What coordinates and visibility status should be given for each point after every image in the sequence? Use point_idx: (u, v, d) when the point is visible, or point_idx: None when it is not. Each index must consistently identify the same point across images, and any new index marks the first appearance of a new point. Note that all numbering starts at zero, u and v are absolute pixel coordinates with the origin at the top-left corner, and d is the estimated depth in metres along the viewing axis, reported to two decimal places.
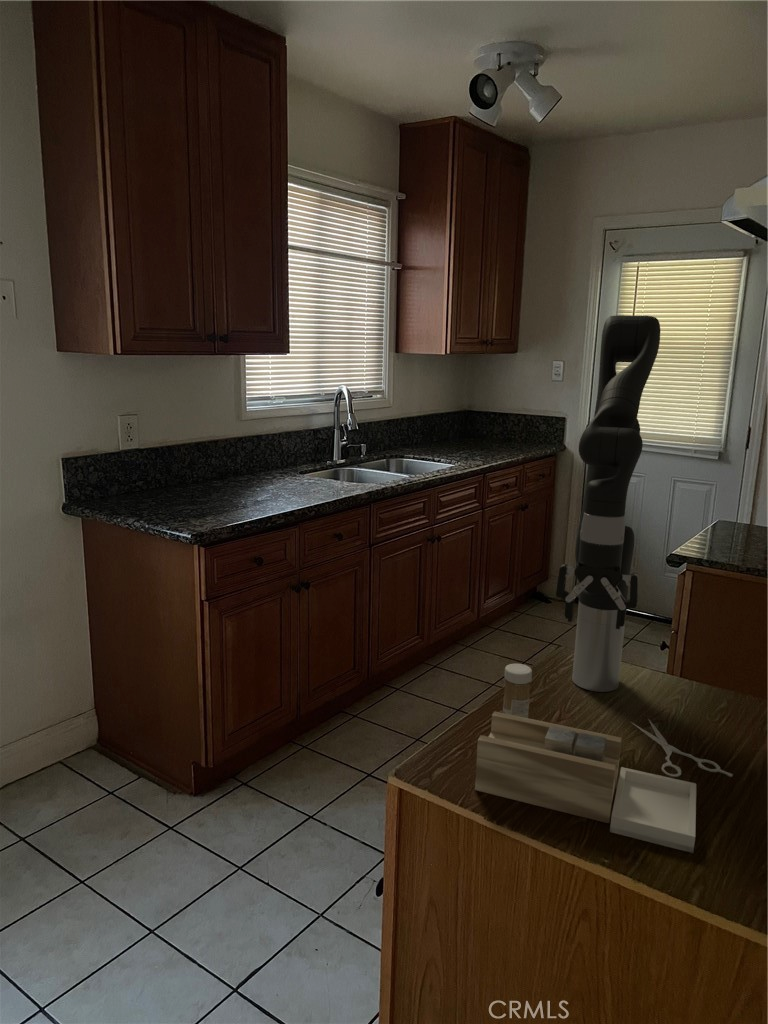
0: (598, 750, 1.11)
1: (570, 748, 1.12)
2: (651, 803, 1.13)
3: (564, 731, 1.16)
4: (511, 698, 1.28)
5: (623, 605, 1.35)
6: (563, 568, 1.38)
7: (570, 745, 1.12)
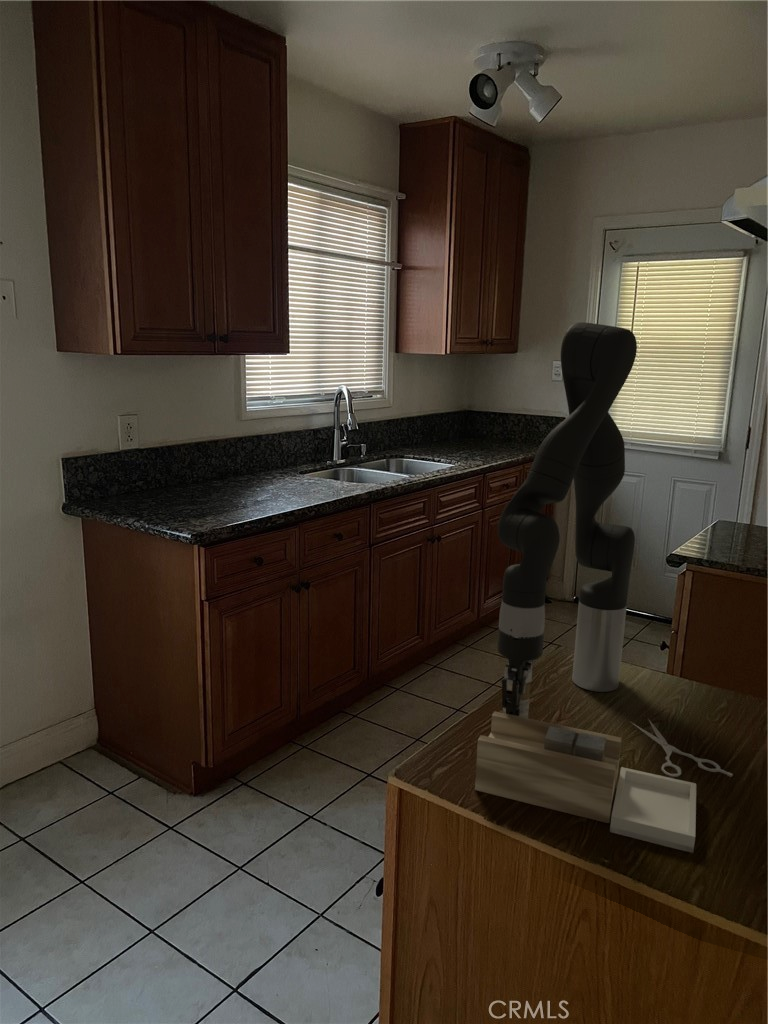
0: (598, 750, 1.11)
1: (570, 748, 1.12)
2: (651, 803, 1.13)
3: (564, 731, 1.16)
4: None
5: None
6: (517, 682, 1.23)
7: (570, 745, 1.12)
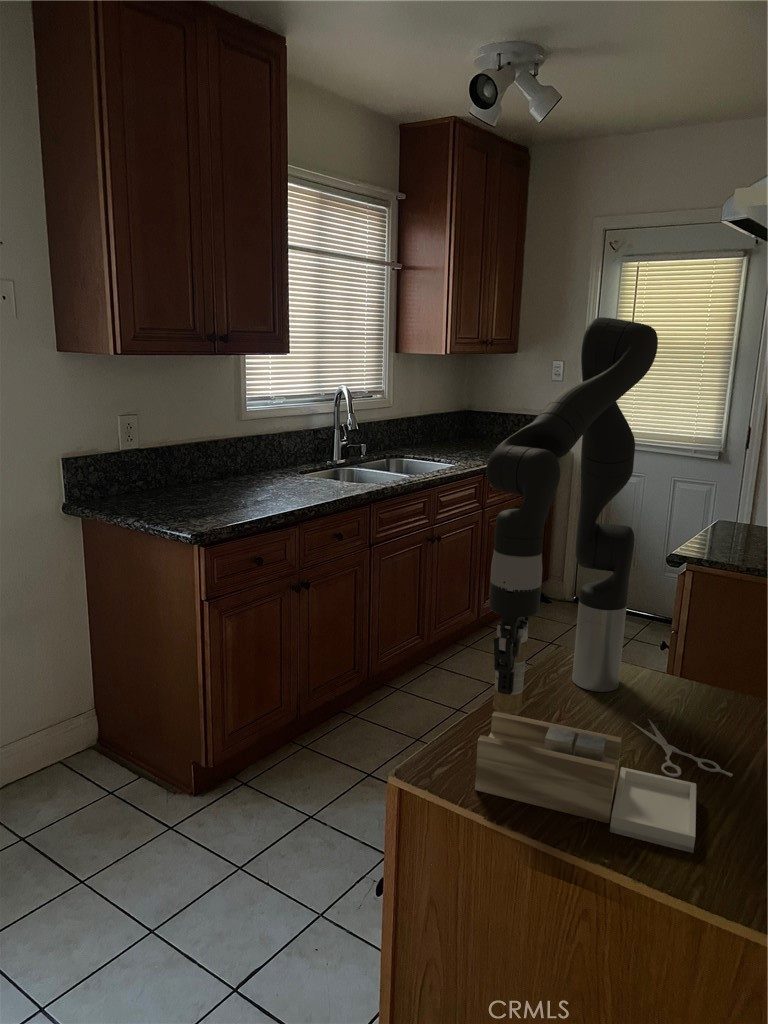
0: (598, 750, 1.11)
1: (570, 748, 1.12)
2: (651, 803, 1.13)
3: (564, 731, 1.16)
4: (504, 660, 1.14)
5: None
6: (511, 640, 1.08)
7: (570, 745, 1.12)
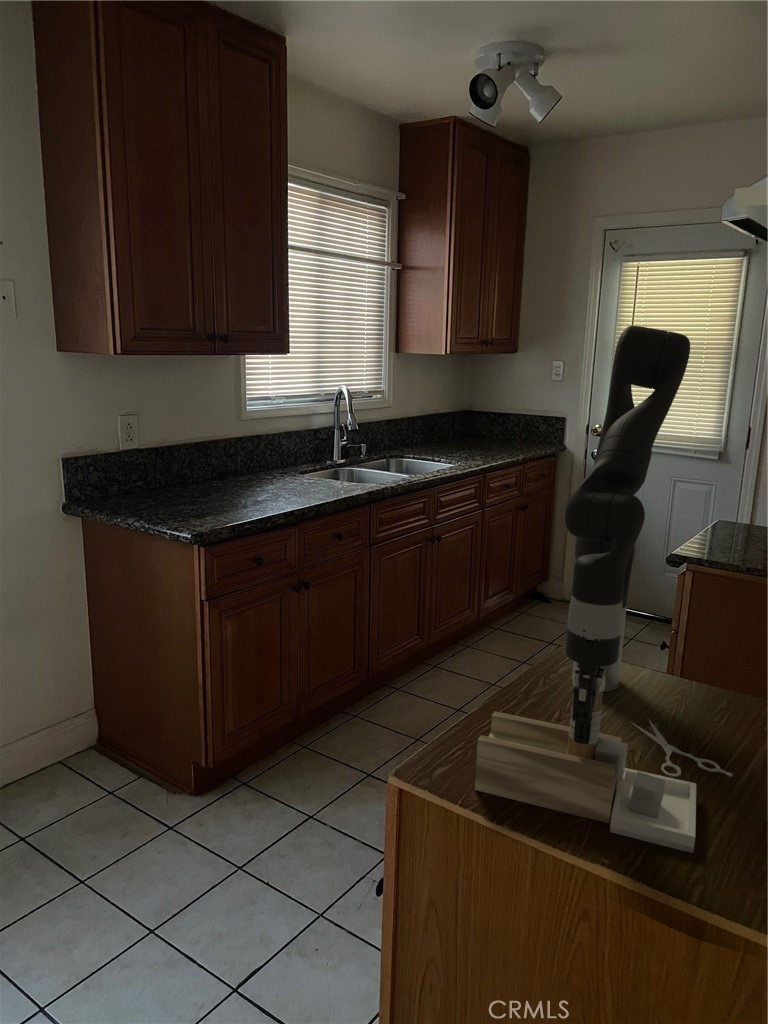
0: (656, 814, 1.09)
1: (622, 761, 1.09)
2: None
3: (615, 743, 1.13)
4: None
5: None
6: (592, 691, 1.05)
7: (622, 757, 1.09)
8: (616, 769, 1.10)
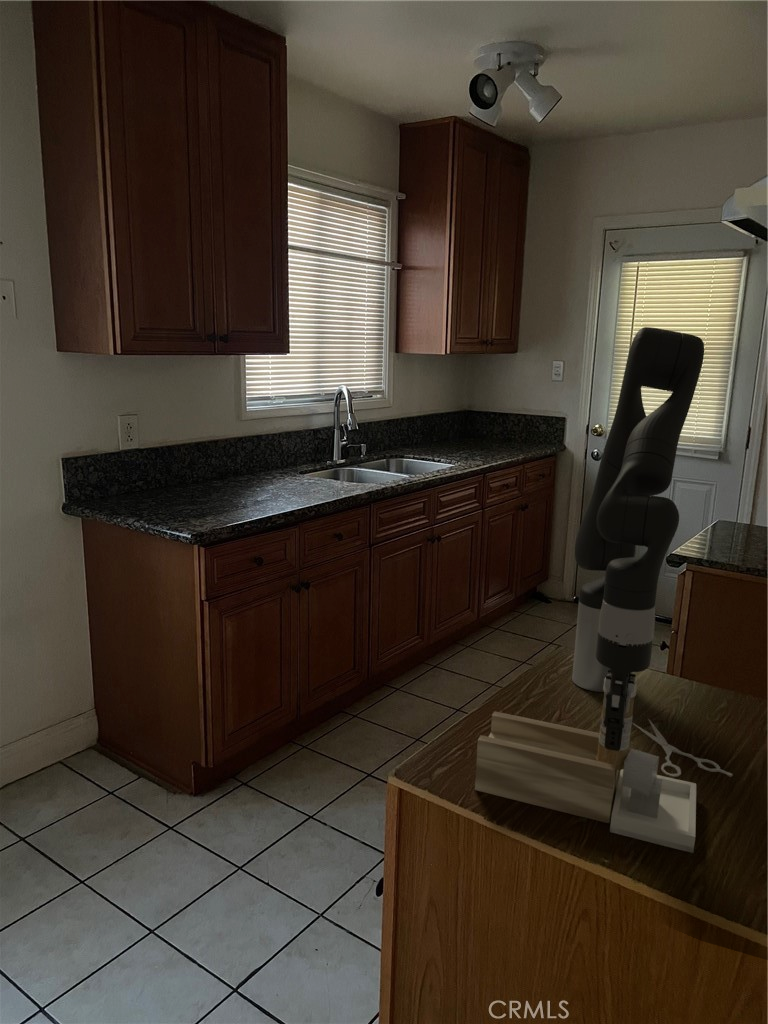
0: (656, 814, 1.09)
1: (651, 773, 1.07)
2: None
3: (646, 755, 1.11)
4: None
5: None
6: (625, 698, 1.04)
7: (651, 770, 1.07)
8: (645, 781, 1.08)
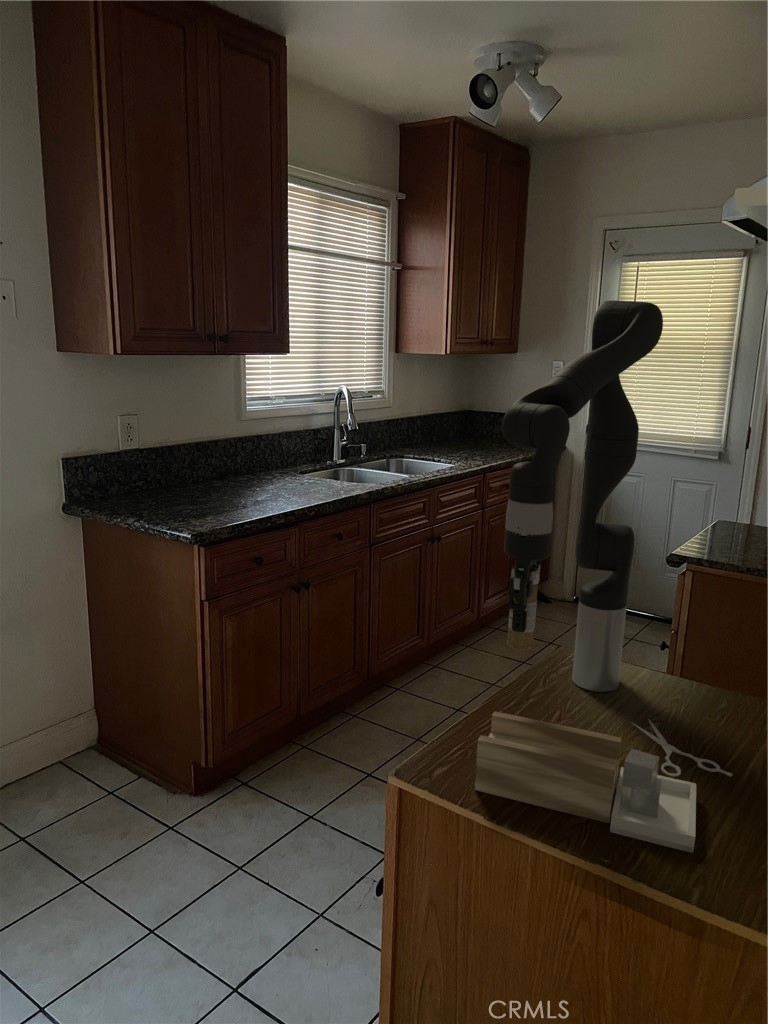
0: (656, 814, 1.09)
1: (651, 773, 1.07)
2: None
3: (646, 755, 1.11)
4: (518, 600, 1.24)
5: None
6: (525, 580, 1.19)
7: (651, 770, 1.07)
8: (645, 782, 1.08)
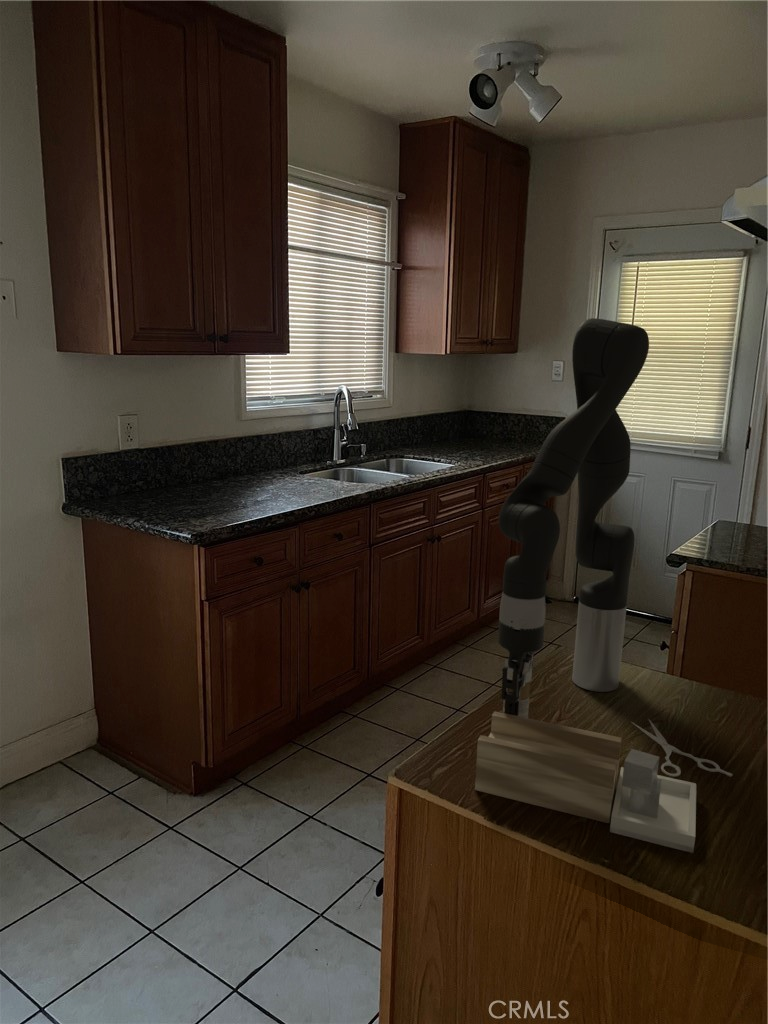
0: (656, 814, 1.09)
1: (651, 773, 1.07)
2: None
3: (646, 755, 1.11)
4: None
5: None
6: (518, 670, 1.22)
7: (651, 770, 1.07)
8: (645, 782, 1.08)
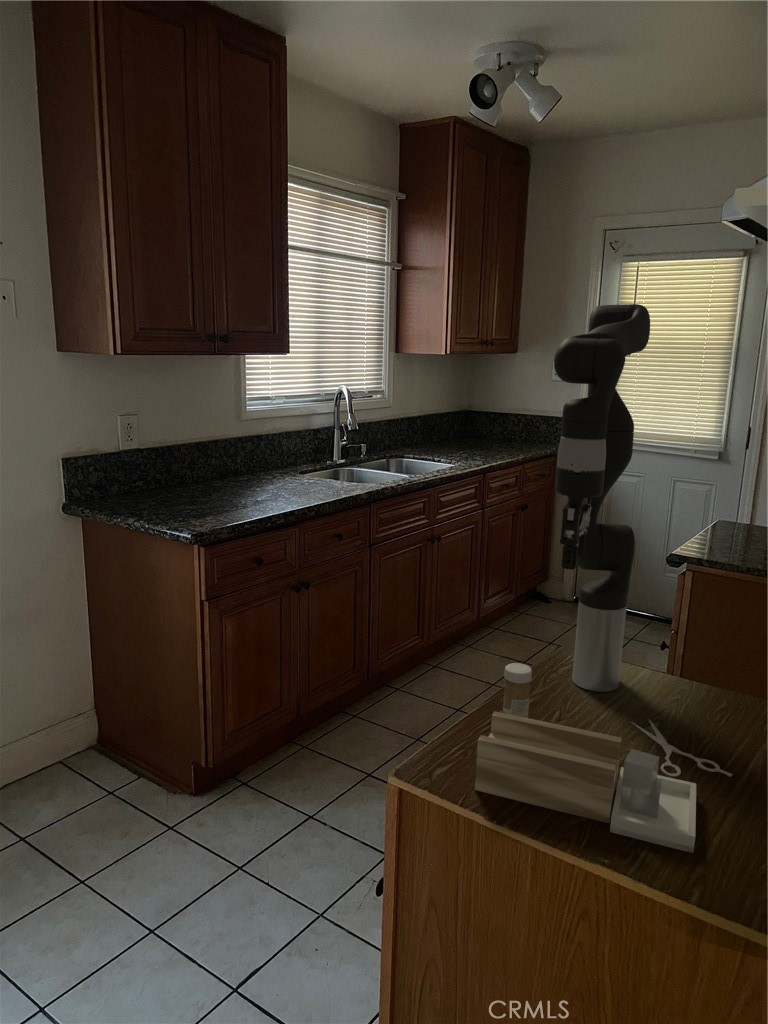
0: (656, 814, 1.09)
1: (651, 773, 1.07)
2: None
3: (646, 755, 1.11)
4: (511, 697, 1.28)
5: (586, 528, 1.29)
6: (579, 510, 1.17)
7: (651, 770, 1.07)
8: (645, 782, 1.08)
